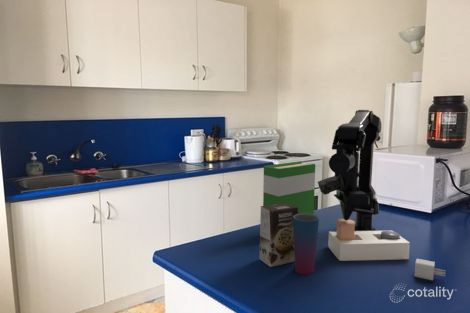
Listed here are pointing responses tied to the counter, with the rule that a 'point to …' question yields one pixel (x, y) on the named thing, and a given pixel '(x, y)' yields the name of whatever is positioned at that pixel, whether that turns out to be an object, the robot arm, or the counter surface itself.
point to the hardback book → (290, 185)
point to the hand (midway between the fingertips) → (345, 219)
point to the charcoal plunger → (389, 235)
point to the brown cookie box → (277, 234)
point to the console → (368, 247)
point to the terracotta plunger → (345, 229)
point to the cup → (305, 242)
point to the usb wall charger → (426, 269)
